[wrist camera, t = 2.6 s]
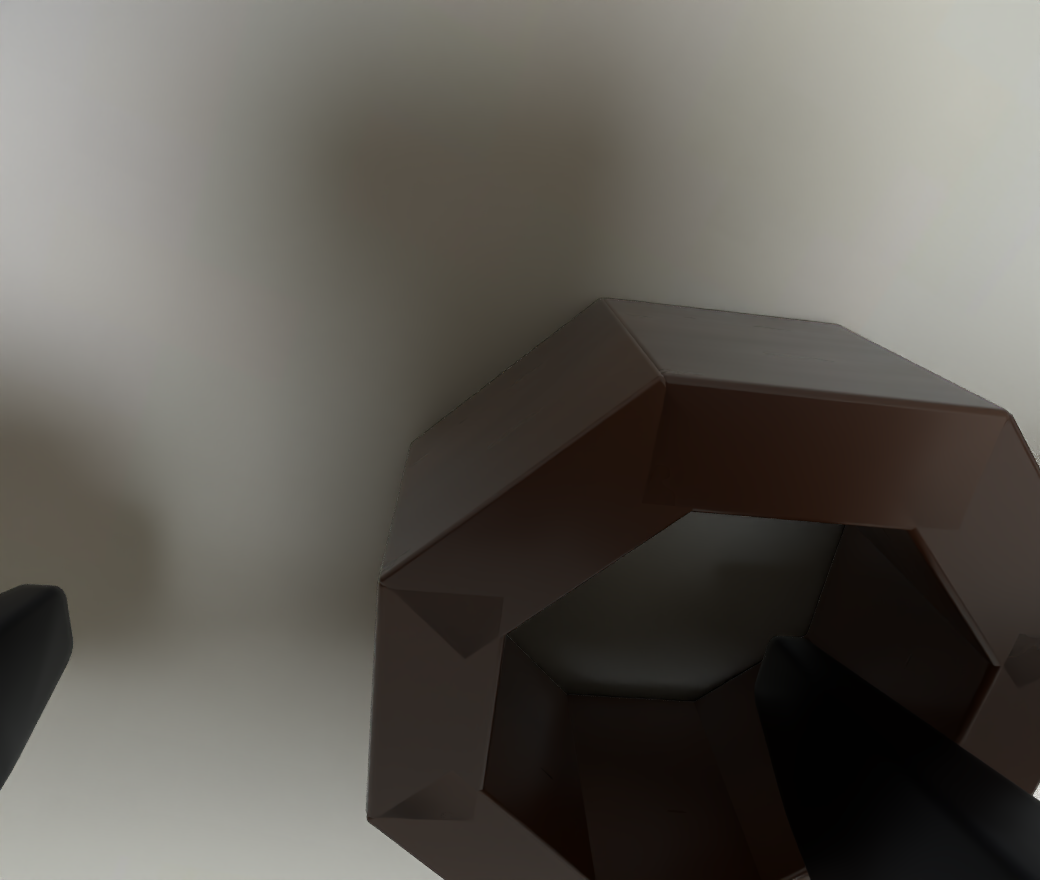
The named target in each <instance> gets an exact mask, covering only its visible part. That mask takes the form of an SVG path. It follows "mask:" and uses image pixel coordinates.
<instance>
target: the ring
mask: <svg viewBox="0 0 1040 880" xmlns="http://www.w3.org/2000/svg"><path fill="white" fill-rule="evenodd" d="M690 512H702V513H714V514H725V515H737V516H749V517H761V518H772V519H784V520H796V521H807V522H819V523H831V524H842V525H845V527H844V530H843V533H842V536H841V539H840V542H839V544H838V547H837V550H836V553H835V556H834V559H833V561H832V564H831V567H830V570H829V573H828V576H827V578H826V581H825V584H824V587H823V590H822V593H821V595H820V598H819V601H818V604H817V607H816V610H815V612H814V615H813V618H812V621H811V624H810V627H809V629H808V632H807V634H806V635H805V636H803V637H801V638H804V639H806V640H808V641H810V642H811V643H812V644H814V645H815V646H817V647H818V648H820V649H821V650H823V651H824V652H825V653H827V654H828V655H830V656H831V657H833V658H834V659H835V660H837V661H838V662H840V663H841V664H843V665H844V666H846V667H847V668H848V669H850V670H851V671H853V672H854V673H856V674H857V675H859V676H860V677H861V678H863V679H864V680H866V681H867V682H869V683H870V684H872V685H873V686H874V687H876V688H877V689H879V690H880V691H882V692H883V693H885V694H886V695H887V696H889V697H890V698H892V699H893V700H895V701H896V702H898V703H899V704H900V705H902V706H903V707H905V708H906V709H908V710H909V711H911V712H912V713H913V714H915V715H916V716H918V717H919V718H921V719H922V720H924V721H925V722H926V723H928V724H929V725H931V726H932V727H934V728H935V729H937V730H938V731H939V732H941V733H942V734H944V735H945V736H947V737H948V738H950V739H951V740H952V741H954V742H955V743H957V744H958V745H960V746H961V747H963V748H964V749H965V750H967V751H968V752H970V753H971V754H973V755H974V756H976V757H977V758H978V759H980V760H981V761H983V762H984V763H986V764H987V765H989V766H990V767H991V768H993V769H994V770H996V771H997V772H999V773H1000V774H1002V775H1003V776H1004V777H1006V778H1007V779H1009V780H1010V781H1012V782H1013V783H1015V784H1016V785H1017V786H1019V787H1020V788H1022V789H1023V790H1025V791H1026V792H1027V793H1029V794H1030V795H1032V796H1033V794H1034V792H1035V790H1036V789H1037V787H1038V785H1039V783H1040V468H1039V466H1038V464H1037V462H1036V460H1035V458H1034V456H1033V454H1032V452H1031V451H1030V449H1029V447H1028V445H1027V443H1026V441H1025V439H1024V437H1023V435H1022V433H1021V431H1020V429H1019V427H1018V425H1017V423H1016V421H1015V419H1014V417H1013V415H1012V414H1010V413H1009V412H1008V411H1007V410H1005V409H1004V408H1002V407H1000V406H998V405H996V404H994V403H992V402H990V401H988V400H986V399H984V398H982V397H980V396H978V395H976V394H974V393H972V392H970V391H968V390H966V389H964V388H962V387H960V386H958V385H957V384H955V383H953V382H951V381H949V380H947V379H945V378H943V377H941V376H939V375H937V374H935V373H933V372H931V371H929V370H927V369H925V368H923V367H921V366H919V365H917V364H915V363H913V362H911V361H909V360H907V359H905V358H903V357H901V356H899V355H897V354H896V353H894V352H892V351H890V350H888V349H886V348H884V347H882V346H880V345H878V344H876V343H874V342H872V341H870V340H868V339H866V338H864V337H862V336H860V335H858V334H856V333H854V332H852V331H850V330H848V329H846V328H844V327H842V326H840V325H838V324H829V323H820V322H811V321H803V320H794V319H785V318H777V317H768V316H759V315H750V314H742V313H733V312H724V311H716V310H707V309H698V308H689V307H681V306H672V305H663V304H655V303H646V302H637V301H628V300H620V299H611V298H605V299H602V298H601V299H598V300H597V301H596V302H594V303H593V304H592V305H590V306H589V307H588V308H587V309H585V310H584V311H583V312H581V313H580V314H579V315H577V316H576V317H575V318H574V319H572V320H571V321H570V322H568V323H567V324H566V325H564V326H563V327H562V328H560V329H559V330H558V331H557V332H555V333H554V334H553V335H551V336H550V337H549V338H547V339H546V340H545V341H544V342H542V343H541V344H540V345H538V346H537V347H536V348H534V349H533V350H532V351H531V352H529V353H528V354H527V355H525V356H524V357H523V358H521V359H520V360H519V361H518V362H516V363H515V364H514V365H512V366H511V367H510V368H508V369H507V370H506V371H504V372H503V373H502V374H501V375H499V376H498V377H497V378H495V379H494V380H493V381H491V382H490V383H489V384H488V385H486V386H485V387H484V388H482V389H481V390H480V391H478V392H477V393H476V394H475V395H473V396H472V397H471V398H469V399H468V400H467V401H465V402H464V403H463V404H462V405H460V406H459V407H458V408H456V409H455V410H454V411H452V412H451V413H450V414H448V415H447V416H446V417H445V418H443V419H442V420H441V421H439V422H438V423H437V424H435V425H434V426H433V427H432V428H430V429H429V430H428V431H426V432H425V433H424V434H422V435H421V436H420V437H419V438H417V439H416V440H415V441H413V442H412V443H411V445H410V449H409V452H408V456H407V460H406V464H405V469H404V473H403V477H402V481H401V485H400V490H399V494H398V498H397V502H396V507H395V511H394V515H393V519H392V523H391V528H390V532H389V536H388V540H387V545H386V549H385V553H384V557H383V561H382V566H381V570H380V574H379V578H378V583H377V602H376V621H375V641H374V660H373V680H372V700H371V719H370V739H369V759H368V778H367V798H366V812H367V820H368V822H369V823H370V824H372V825H373V826H374V827H376V828H377V829H378V830H380V831H381V832H382V833H384V834H385V835H386V836H388V837H389V838H390V839H392V840H393V841H394V842H396V843H397V844H398V845H399V846H401V847H402V848H403V849H405V850H406V851H407V852H409V853H410V854H411V855H413V856H414V857H415V858H417V859H418V860H419V861H421V862H422V863H423V864H425V865H426V866H427V867H429V868H430V869H431V870H432V871H434V872H435V873H436V874H438V875H439V876H440V877H442V878H443V879H444V880H810V877H809V875H808V872H807V869H806V867H805V864H804V861H803V859H802V856H801V853H800V851H799V848H798V846H797V843H796V840H795V838H794V835H793V832H792V830H791V827H790V824H789V821H788V818H787V815H786V813H785V809H784V806H783V803H782V799H781V796H780V792H779V789H778V785H777V781H776V777H775V774H774V770H773V766H772V762H771V759H770V755H769V751H768V747H767V744H766V740H765V736H764V732H763V729H762V725H761V721H760V717H759V714H758V710H757V706H756V702H755V695H754V688H755V682H756V679H757V676H758V673H759V670H760V667H761V663H762V661H761V662H759V663H758V664H756V665H754V666H753V667H751V668H749V669H748V670H746V671H744V672H743V673H741V674H739V675H738V676H736V677H734V678H733V679H731V680H729V681H728V682H726V683H724V684H723V685H721V686H719V687H718V688H716V689H714V690H713V691H711V692H709V693H708V694H706V695H704V696H703V697H701V698H699V699H698V700H696V701H677V700H660V699H643V698H626V697H609V696H592V695H575V694H566V693H565V692H564V691H563V690H562V689H561V688H560V687H559V686H558V685H557V684H556V683H555V682H554V681H553V680H552V679H551V678H550V677H549V676H548V675H547V674H546V673H545V672H544V671H543V670H542V669H541V668H540V667H539V666H538V665H537V664H536V663H535V662H534V661H533V660H532V659H531V658H530V657H529V656H528V655H527V654H526V653H525V652H524V651H523V650H522V649H521V648H520V647H519V646H518V645H517V644H516V643H515V642H514V641H513V640H512V639H511V638H510V637H509V636H508V635H507V634H508V633H510V632H511V631H513V630H514V629H516V628H517V627H519V626H520V625H522V624H523V623H525V622H526V621H528V620H529V619H531V618H532V617H534V616H535V615H537V614H538V613H540V612H541V611H543V610H544V609H546V608H547V607H549V606H550V605H552V604H553V603H555V602H556V601H558V600H559V599H561V598H562V597H564V596H565V595H567V594H568V593H570V592H571V591H573V590H574V589H576V588H577V587H579V586H580V585H582V584H583V583H585V582H586V581H588V580H589V579H591V578H592V577H594V576H595V575H597V574H598V573H600V572H601V571H603V570H604V569H606V568H607V567H609V566H610V565H612V564H613V563H615V562H616V561H618V560H619V559H621V558H622V557H624V556H625V555H627V554H628V553H630V552H631V551H633V550H634V549H636V548H637V547H639V546H640V545H642V544H643V543H645V542H646V541H648V540H649V539H651V538H652V537H654V536H655V535H657V534H658V533H660V532H661V531H663V530H664V529H666V528H667V527H669V526H670V525H672V524H673V523H675V522H676V521H678V520H679V519H681V518H682V517H684V516H685V515H687V514H688V513H690Z"/></svg>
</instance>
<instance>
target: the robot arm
mask: <svg viewBox="0 0 1040 880" xmlns="http://www.w3.org/2000/svg"><path fill="white" fill-rule="evenodd" d="M72 649H73V636H72V630H71V623H70V617H69V611H68V605H67V598H66V595H65V593H64V591H63V590H62V589H61V588H60V587H58V586H52V585H38V584H23V585H20V586H17V587H15V588H13V589H10V590H8V591H6V592H3V593H1V594H0V790H1V788H2V787H3V785H4V783H5V782H6V780H7V779H8V777H9V775H10V773H11V772H12V770H13V768H14V766H15V764H16V762H17V761H18V759H19V757H20V755H21V753H22V751H23V749H24V747H25V745H26V743H27V741H28V739H29V738H30V736H31V734H32V732H33V730H34V728H35V726H36V724H37V722H38V720H39V718H40V716H41V714H42V712H43V710H44V708H45V706H46V704H47V703H48V701H49V699H50V697H51V695H52V693H53V691H54V689H55V687H56V685H57V683H58V681H59V679H60V677H61V675H62V673H63V671H64V669H65V668H66V666H67V664H68V661H69V659H70V656H71V653H72ZM754 695H755V702H756V706H757V710H758V714H759V717H760V721H761V725H762V729H763V732H764V736H765V740H766V744H767V747H768V751H769V755H770V759H771V762H772V766H773V770H774V774H775V777H776V781H777V785H778V789H779V792H780V796H781V799H782V803H783V806H784V809H785V813H786V815H787V818H788V821H789V824H790V827H791V830H792V832H793V835H794V838H795V840H796V843H797V846H798V848H799V851H800V853H801V856H802V859H803V861H804V864H805V867H806V869H807V872H808V875H809V877H810V880H1040V801H1039V800H1038V799H1036V798H1035V797H1033V796H1032V795H1030V794H1029V793H1027V792H1026V791H1025V790H1023V789H1022V788H1020V787H1019V786H1017V785H1016V784H1015V783H1013V782H1012V781H1010V780H1009V779H1007V778H1006V777H1004V776H1003V775H1002V774H1000V773H999V772H997V771H996V770H994V769H993V768H991V767H990V766H989V765H987V764H986V763H984V762H983V761H981V760H980V759H978V758H977V757H976V756H974V755H973V754H971V753H970V752H968V751H967V750H965V749H964V748H963V747H961V746H960V745H958V744H957V743H955V742H954V741H952V740H951V739H950V738H948V737H947V736H945V735H944V734H942V733H941V732H939V731H938V730H937V729H935V728H934V727H932V726H931V725H929V724H928V723H926V722H925V721H924V720H922V719H921V718H919V717H918V716H916V715H915V714H913V713H912V712H911V711H909V710H908V709H906V708H905V707H903V706H902V705H900V704H899V703H898V702H896V701H895V700H893V699H892V698H890V697H889V696H887V695H886V694H885V693H883V692H882V691H880V690H879V689H877V688H876V687H874V686H873V685H872V684H870V683H869V682H867V681H866V680H864V679H863V678H861V677H860V676H859V675H857V674H856V673H854V672H853V671H851V670H850V669H848V668H847V667H846V666H844V665H843V664H841V663H840V662H838V661H837V660H835V659H834V658H833V657H831V656H830V655H828V654H827V653H825V652H824V651H823V650H821V649H820V648H818V647H817V646H815V645H814V644H812V643H811V642H810V641H808V640H806V639H804V638H801V637H790V636H775V637H773V638H772V639H771V640H770V641H769V643H768V645H767V648H766V651H765V654H764V657H763V660H762V663H761V667H760V670H759V673H758V676H757V679H756V682H755V688H754Z"/></svg>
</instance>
